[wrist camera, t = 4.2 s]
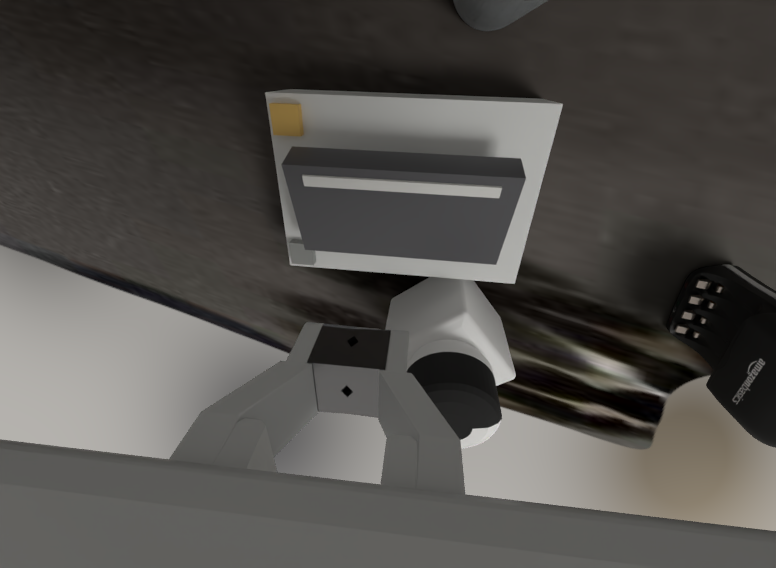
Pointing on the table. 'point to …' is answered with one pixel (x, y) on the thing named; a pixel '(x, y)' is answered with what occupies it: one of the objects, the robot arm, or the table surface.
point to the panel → (416, 135)
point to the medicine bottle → (455, 352)
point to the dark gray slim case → (403, 202)
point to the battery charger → (733, 342)
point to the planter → (493, 12)
